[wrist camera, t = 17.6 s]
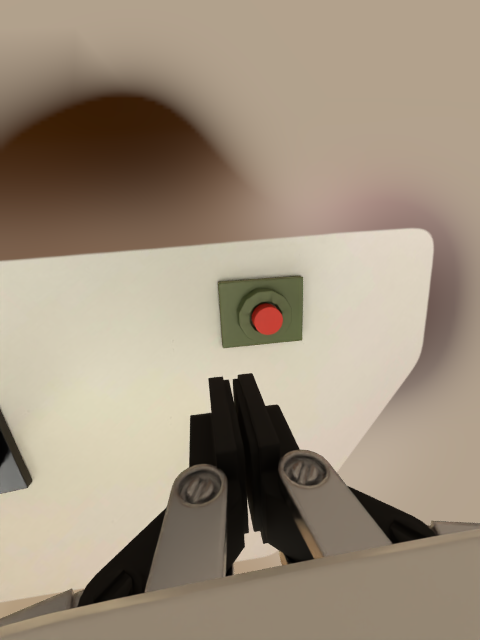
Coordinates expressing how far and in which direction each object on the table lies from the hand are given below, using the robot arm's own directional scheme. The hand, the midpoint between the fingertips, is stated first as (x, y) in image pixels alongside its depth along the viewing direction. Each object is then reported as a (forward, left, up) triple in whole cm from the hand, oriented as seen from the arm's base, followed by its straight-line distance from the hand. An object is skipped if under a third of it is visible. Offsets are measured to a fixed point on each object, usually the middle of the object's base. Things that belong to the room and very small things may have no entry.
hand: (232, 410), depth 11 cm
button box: (+7, +2, -25) cm, 26 cm away
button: (+7, +2, -23) cm, 24 cm away
